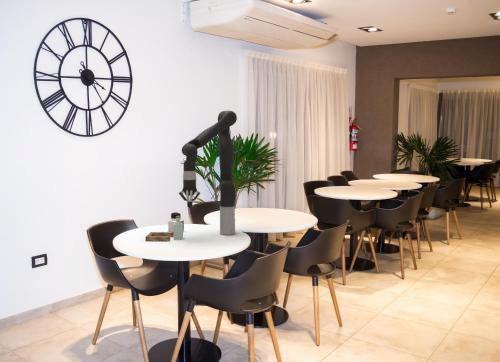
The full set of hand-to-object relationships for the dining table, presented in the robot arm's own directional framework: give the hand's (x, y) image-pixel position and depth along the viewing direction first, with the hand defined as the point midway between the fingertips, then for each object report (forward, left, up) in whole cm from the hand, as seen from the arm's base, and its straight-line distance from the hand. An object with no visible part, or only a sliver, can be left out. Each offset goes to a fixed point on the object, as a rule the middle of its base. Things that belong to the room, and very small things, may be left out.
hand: (189, 207), depth 277 cm
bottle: (+7, 0, -19) cm, 20 cm away
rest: (+17, 0, -19) cm, 25 cm away
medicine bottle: (+12, -20, -19) cm, 30 cm away
